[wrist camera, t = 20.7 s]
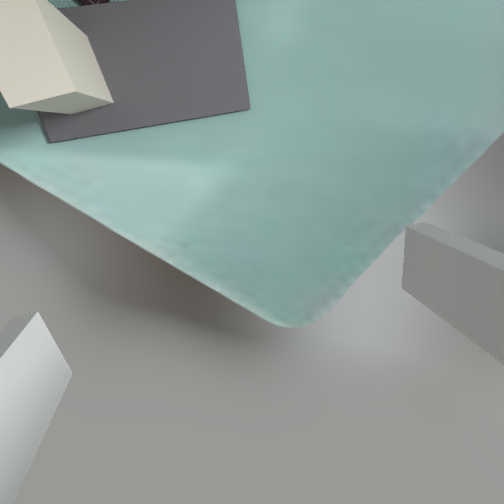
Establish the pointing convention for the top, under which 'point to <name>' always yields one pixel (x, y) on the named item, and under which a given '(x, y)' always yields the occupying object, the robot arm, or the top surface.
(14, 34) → the card box
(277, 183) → the top surface
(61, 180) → the top surface
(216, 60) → the mat
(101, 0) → the chocolate bar
